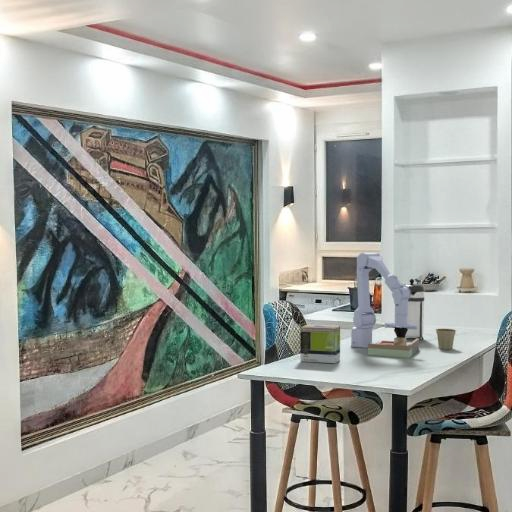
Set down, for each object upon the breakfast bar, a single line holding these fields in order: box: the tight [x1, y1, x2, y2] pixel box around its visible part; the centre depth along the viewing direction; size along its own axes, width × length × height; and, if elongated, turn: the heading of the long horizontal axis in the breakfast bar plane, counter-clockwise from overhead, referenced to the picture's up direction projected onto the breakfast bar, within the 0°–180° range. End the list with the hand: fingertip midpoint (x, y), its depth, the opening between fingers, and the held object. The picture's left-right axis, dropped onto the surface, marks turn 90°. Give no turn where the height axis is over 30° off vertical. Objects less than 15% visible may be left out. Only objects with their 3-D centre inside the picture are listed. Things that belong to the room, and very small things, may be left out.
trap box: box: [367, 338, 420, 359], centre depth 355 cm, size 18×24×5 cm
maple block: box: [393, 336, 408, 346], centre depth 346 cm, size 4×4×4 cm
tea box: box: [299, 324, 341, 364], centre depth 330 cm, size 15×10×15 cm, turn 71°
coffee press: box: [402, 278, 426, 341], centre depth 396 cm, size 17×16×30 cm
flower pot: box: [435, 328, 457, 350], centre depth 366 cm, size 9×9×9 cm
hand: (400, 344), depth 351 cm, fingers closed, pressing on maple block
